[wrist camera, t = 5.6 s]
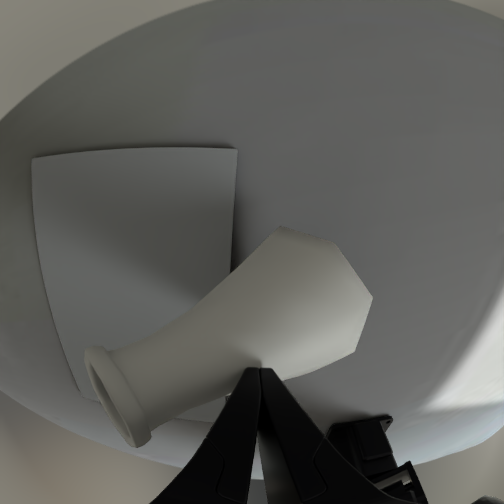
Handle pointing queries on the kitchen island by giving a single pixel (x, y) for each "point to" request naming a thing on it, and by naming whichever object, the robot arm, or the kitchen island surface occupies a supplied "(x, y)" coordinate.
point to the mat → (131, 244)
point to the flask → (237, 334)
